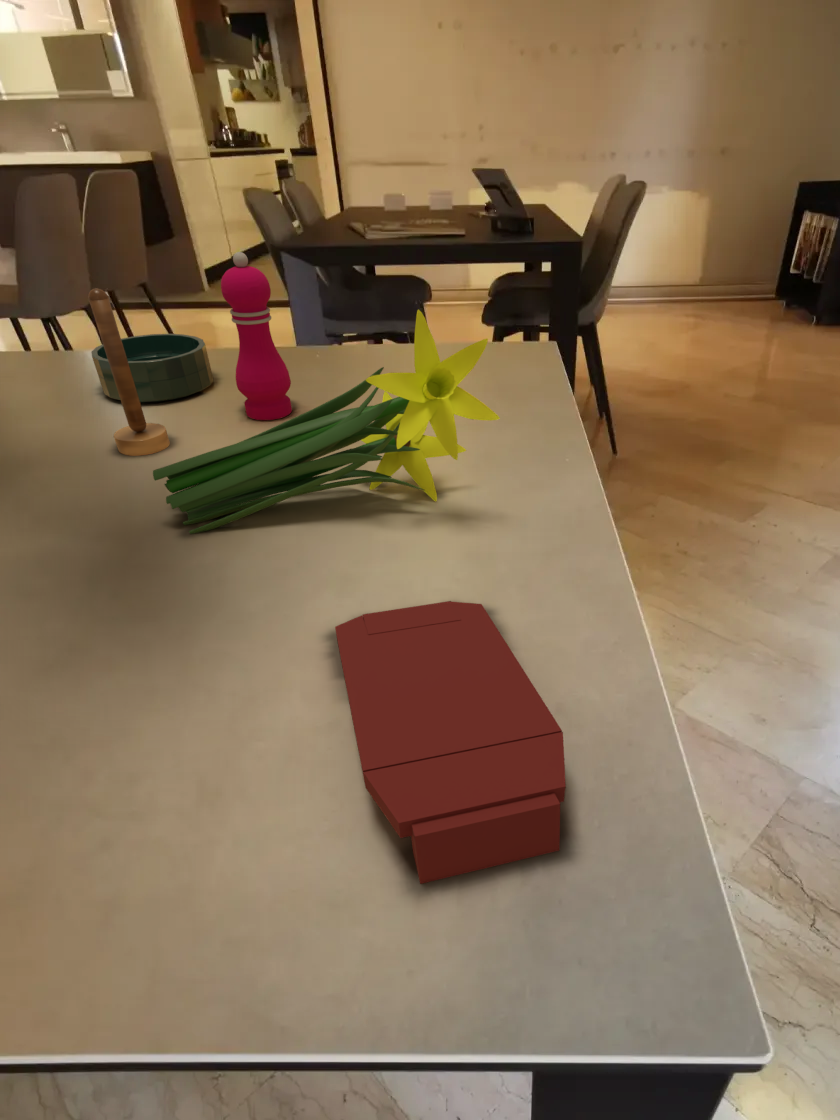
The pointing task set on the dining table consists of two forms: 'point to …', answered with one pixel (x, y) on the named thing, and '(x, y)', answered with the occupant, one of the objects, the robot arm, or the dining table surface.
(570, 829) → the dining table surface
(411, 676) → the carton
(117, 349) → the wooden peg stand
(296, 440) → the daffodil flowers
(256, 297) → the pepper mill
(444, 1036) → the dining table surface
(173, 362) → the bowl
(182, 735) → the dining table surface
